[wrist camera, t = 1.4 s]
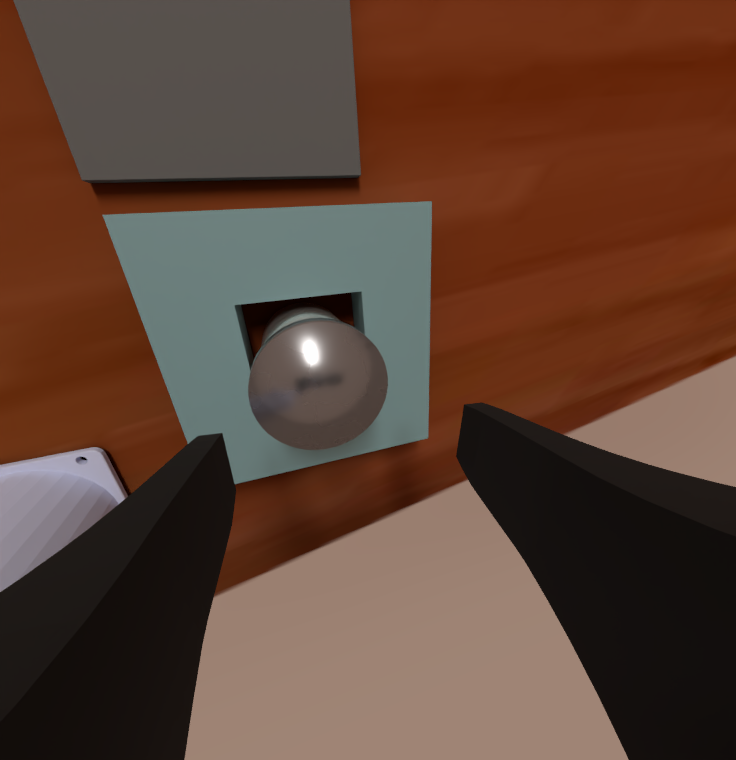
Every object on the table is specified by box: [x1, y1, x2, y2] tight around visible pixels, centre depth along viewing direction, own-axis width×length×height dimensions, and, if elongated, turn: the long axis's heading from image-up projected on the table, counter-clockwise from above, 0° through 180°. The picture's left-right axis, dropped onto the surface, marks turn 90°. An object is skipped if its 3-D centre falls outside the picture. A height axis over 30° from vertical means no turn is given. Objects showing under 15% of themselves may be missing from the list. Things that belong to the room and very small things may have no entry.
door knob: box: [248, 302, 388, 450], centre depth 15 cm, size 6×6×7 cm
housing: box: [103, 201, 432, 484], centre depth 17 cm, size 14×14×2 cm
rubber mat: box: [14, 0, 361, 183], centre depth 12 cm, size 12×11×1 cm
